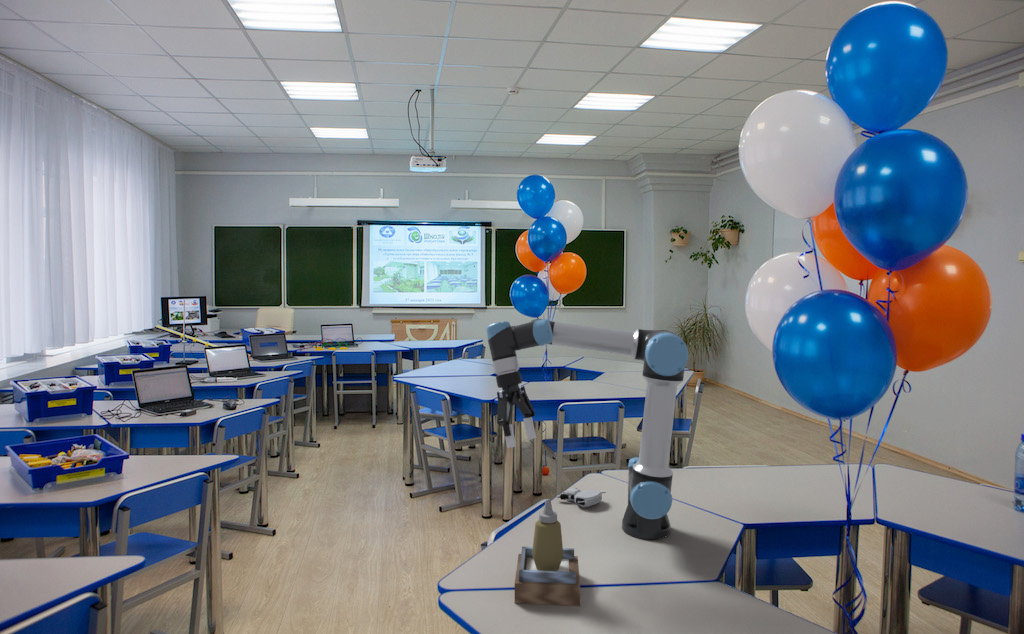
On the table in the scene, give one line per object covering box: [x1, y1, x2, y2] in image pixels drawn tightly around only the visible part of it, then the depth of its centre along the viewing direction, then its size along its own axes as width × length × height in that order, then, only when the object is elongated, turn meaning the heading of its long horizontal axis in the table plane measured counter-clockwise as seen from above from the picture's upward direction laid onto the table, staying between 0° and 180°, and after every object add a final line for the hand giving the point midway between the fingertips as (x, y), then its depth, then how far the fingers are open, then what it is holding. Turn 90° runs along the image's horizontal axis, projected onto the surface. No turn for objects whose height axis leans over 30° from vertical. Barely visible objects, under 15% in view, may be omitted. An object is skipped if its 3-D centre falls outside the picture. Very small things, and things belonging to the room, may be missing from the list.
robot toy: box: [555, 487, 607, 509], centre depth 213 cm, size 12×4×15 cm
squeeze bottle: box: [532, 498, 564, 571], centre depth 153 cm, size 8×8×18 cm
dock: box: [514, 546, 581, 607], centre depth 153 cm, size 16×16×8 cm
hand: (522, 443), depth 177 cm, fingers open, 13 cm apart
